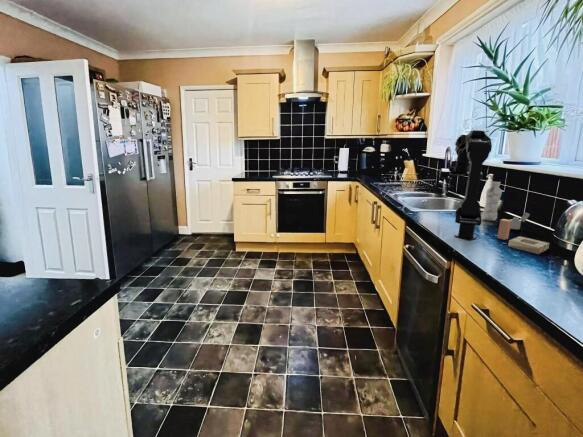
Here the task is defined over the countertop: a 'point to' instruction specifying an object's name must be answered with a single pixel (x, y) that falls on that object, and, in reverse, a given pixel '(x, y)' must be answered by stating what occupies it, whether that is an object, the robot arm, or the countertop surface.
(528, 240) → the socket block
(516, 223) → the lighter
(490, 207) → the plastic bottle
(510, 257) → the countertop surface
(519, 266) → the countertop surface
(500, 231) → the peg
